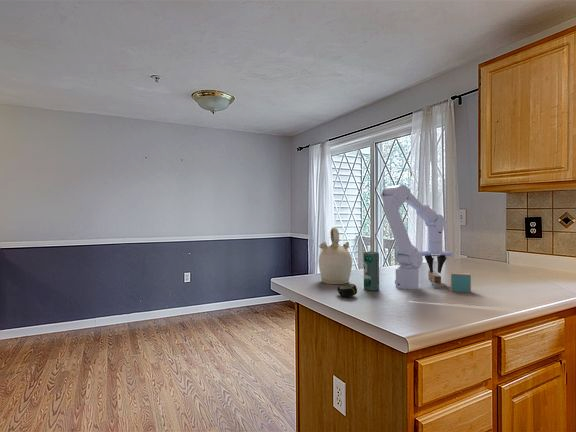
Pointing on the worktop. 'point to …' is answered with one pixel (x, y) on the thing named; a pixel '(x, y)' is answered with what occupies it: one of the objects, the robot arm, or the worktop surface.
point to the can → (371, 270)
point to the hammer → (436, 280)
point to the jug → (335, 261)
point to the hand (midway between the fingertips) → (435, 272)
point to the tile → (460, 282)
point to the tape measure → (347, 290)
